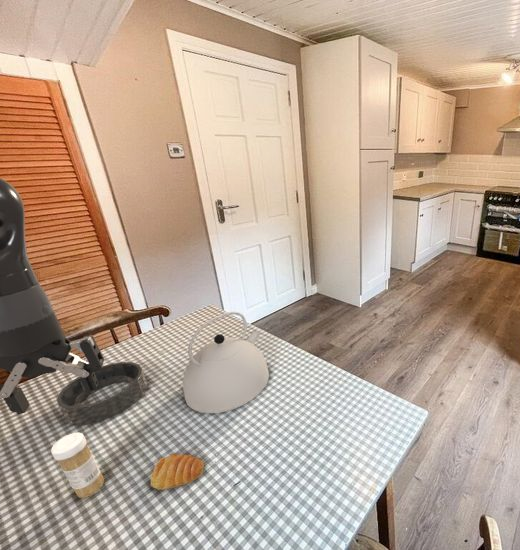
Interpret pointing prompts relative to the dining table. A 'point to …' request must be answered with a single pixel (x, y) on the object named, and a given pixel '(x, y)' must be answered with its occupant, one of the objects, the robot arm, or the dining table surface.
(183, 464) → the pastry
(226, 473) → the dining table surface
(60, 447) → the sprinkles bottle
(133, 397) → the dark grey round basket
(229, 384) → the kettle
